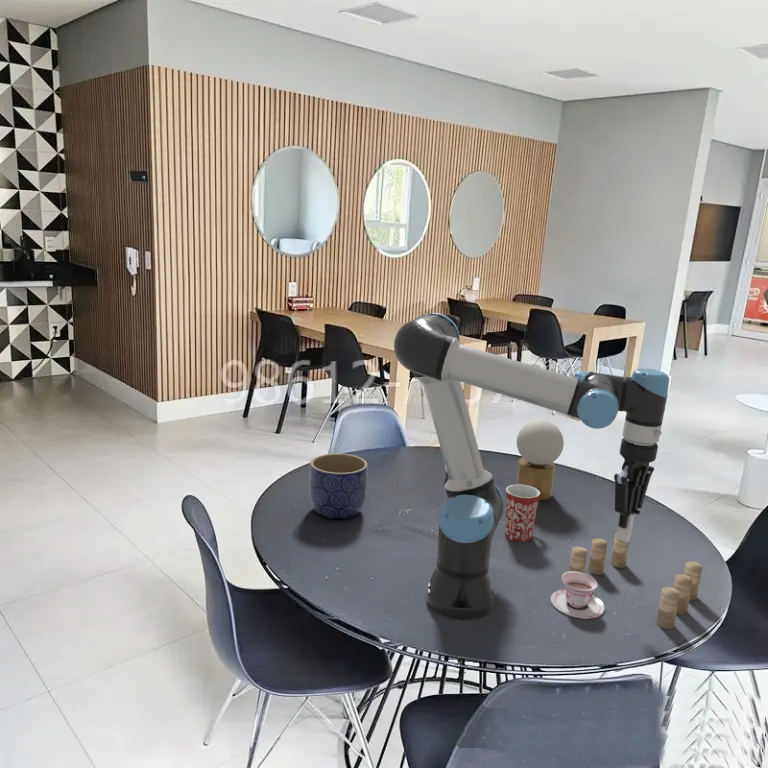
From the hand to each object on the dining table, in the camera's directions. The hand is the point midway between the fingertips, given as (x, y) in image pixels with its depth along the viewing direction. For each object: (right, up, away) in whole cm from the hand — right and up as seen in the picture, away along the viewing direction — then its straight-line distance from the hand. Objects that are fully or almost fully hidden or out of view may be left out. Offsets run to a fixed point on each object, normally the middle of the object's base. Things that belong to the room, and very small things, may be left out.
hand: (622, 539), depth 156 cm
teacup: (-10, -16, +2) cm, 18 cm away
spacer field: (+6, -14, +9) cm, 18 cm away
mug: (-16, -7, +36) cm, 39 cm away
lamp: (-6, -1, +62) cm, 63 cm away
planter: (-67, -2, +44) cm, 81 cm away
